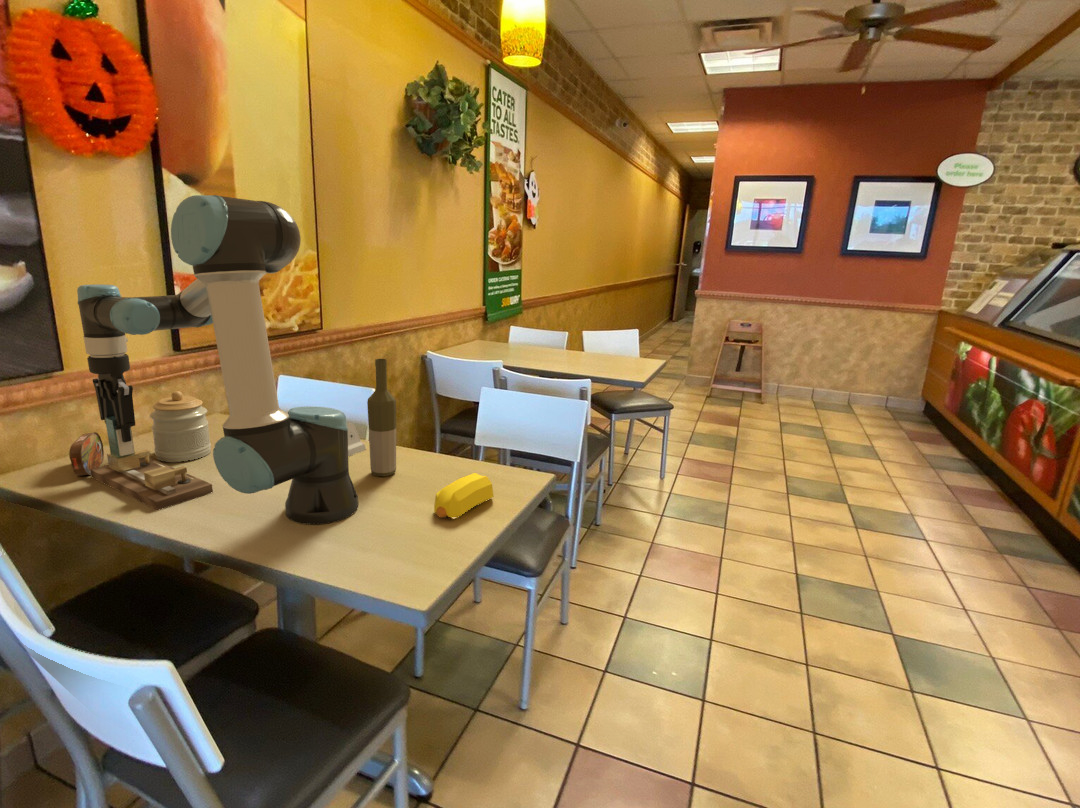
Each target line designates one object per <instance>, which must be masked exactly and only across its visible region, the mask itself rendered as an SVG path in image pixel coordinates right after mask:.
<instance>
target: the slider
mask: <svg viewBox="0 0 1080 808" xmlns="http://www.w3.org/2000/svg"><path fill="white" fill-rule="evenodd" d="M105 421H106V424H105V427H106V432H107V439H108V446H109V452H110V453H106V454H107V455H106V457H107V464H109V467H110V468H112V469H114V470H117V471H119V472H121V471H125V470H128V469H132V468H136V467H140V462H139V458H142V457H145V463H146V464H150V459H149V458H150V456H151V451H150V450H148V449H144V450H140V451H134V453H132V454H128V455H124V456H120V454H119V447H118V441H117V434H116V430H115V429H114V428H115V427H118V426H117V422H116V418H115V416H112V417H107V418H105V420H104V422H105ZM130 428H131V429H132V427H130ZM131 435H132V436H133V433H132V430H131ZM132 442H133V443H134V441H133V437H132ZM133 448H134V449H135V446H134V444H133Z"/></svg>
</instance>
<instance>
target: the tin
mask: <svg viewBox="0 0 1080 808" xmlns="http://www.w3.org/2000/svg"><path fill="white" fill-rule="evenodd" d="M68 453H69V460H70V463H71V468H72V472H73V473H74V475H76V476H77V477H81V476H83V477H84V476H91V470H90V469H94V468H98V467H101V465H102V463H103V462H104V457H105V456H104V455H105V451H104V445H103V440H102V438H101V436H100V434H99V432H98V431H97V432H96V431H94V432H93V431H92V432H89V433H88V432H87V433H83V434H81V435H80V436H79V437H78V438H77V439H76V440H74V442H73V443H72V444H71V445H70V448H69V452H68ZM100 464H101V465H100Z"/></svg>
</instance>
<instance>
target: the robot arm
mask: <svg viewBox="0 0 1080 808" xmlns="http://www.w3.org/2000/svg"><path fill="white" fill-rule="evenodd" d="M301 238H302V237H301V232H300V228H299V226H298V224H297V222H296V221H295V219H294V218H293V216H292V215H291V214H290V213H289V212H288V211H287V210H286V209H284V208H283V207H281V206H280V205H277V204H276V203H272V202H269V201H264V200H253V199H252V200H250V199H244V198H238V197H229V196H223V195H217V194H215V195H214V194H213V195H211V194H210V195H209V194H208V195H202V194H201V195H200V194H199V195H198V194H197V195H196V194H195V195H191V196H188V197H186V198H185V199H183V200H182V201H181V202H180V203H179V204H178V205H177V207H176V210H175V212H174V213H173V216H172V219H171V226H170V239H171V243H172V248H173V250H174V252H175V253H176V254H177V257H178V259H180V261H182V262H183V263H185V264H187V265H189V266H192V270H193V275H194V277H195V278H196V279H195V280H194V281H192V282H191V283H190V284H189V285H188V286H187V287H185V288H184V289H183V290H182V291H180V292H179V293H177V294H174V295H172V294H171V295H157V296H156V295H155V296H153V295H150V296H134V297H133V296H130V297H128V296H127V297H126V296H125V297H124V296H122V295H121V293H120V290H119V288H118V286H117V285H114V284H102V283H101V284H99V283H98V284H96V283H95V284H81V285H79V286H78V287H77V289H76V292H77V305H78V309H79V310H78V311H79V315H80V321H81V327H82V332H83V342H84V349H85V353H86V354H87V355H88V356H87V365H88V371H89V372H90V373H91V374H95V375H97V378H93V379H92V384H93V387H94V390H95V394H96V396H95V397H96V400H97V401H96V402H97V406H98V411H99V416H100V420H101V421H104V424H105V425H106V421H105V418H107V417H112V416H115V418H116V422H117V426H118V427H115V428H114V429H115V430H116V434H117V441H118V447H119V454H120V456H124V455H128V454H132V453H134V452H135V447H134V448H133V445H134V441H133V442H132V438H133V434H132V435H131V431H132V427H136V418H135V409H134V408H135V406H134V400H133V392H134V389H133V387H134V386H133V385H127V381H126V379H125V376H124V373H126V372H128V371H130V369H131V364H130V356H129V355H128V354H127V352H128V345H127V343H128V342H129V341H128V340H129V339H128V338H127V337H126V334H128V335H132V336H133V335H134V336H135V335H140V336H144V335H148V334H151V333H153V332H155V331H167V330H176V329H186V328H187V329H188V328H202V327H203V326H210V325H212V324H213V325H212V326H213V330H214V335H215V336H214V337H215V342H216V347H217V352H218V358H219V363H220V368H221V375H222V380H223V384H224V391H225V395H226V396H225V397H226V402H227V405H228V411H229V415H228V417H227V419H226V420H225V421H224V422H223V424H222V429H223V430H222V431H223V437H220V438H219V439H218V440H217V441H216V442H215V443H214V448H213V450H212V454H213V455H212V456H213V461H214V464H215V467H216V470H217V471H218V473H219V475H220V477H221V478H222V480H223V481H224V482H225V483H227V484H228V485H229V487H231V488H232V489H233V490H235V491H237V492H238V493H242V494H247V495H248V494H255V493H258V492H261V491H266V490H269V489H272V488H273V487H276V486H278V485H281V484H283V483H285V482H288V481H290V480H291V481H290V482H291V483H290V486H289V490H288V494H287V498H286V500H285V503H284V504H285V505H284V507H285V516H286V517H287V518H288V519H289V520H290V521H292V522H295V523H298V524H304V525H325V524H330V523H334V521H335V522H339V521H341V519H342V520H344V519H346V517H347V518H349V517H351V516H352V515H353V514H355V513H356V512H357V510H358V509H359V497H358V493H357V491H356V488H355V485H354V483H353V481H352V479H351V476H350V472H349V468H350V467H349V457H348V428H347V423H348V422H347V417H346V415H345V413H344V412H343V411H342V410H339V409H335V408H332V407H324V406H298V407H292V408H290V409H289V410H288V412H286V411H284V410H283V409H282V408H281V407H280V404H279V399H278V392H277V386H276V385H277V384H276V380H275V374H274V368H273V361H272V355H271V349H270V344H269V339H268V332H267V325H266V320H265V319H266V318H265V314H264V309H263V302H262V297H261V291H260V280H261V279H262V278H263V277H264V276H265V275H267V274H276V273H278V272H280V271H281V270H282V269H284V268H285V267H287V266H288V265H289V264H290V263H291V262H292V261H294V259H295V258H296V256H297V255H298V253H299V251H300V246H301V240H302V239H301ZM130 427H131V428H130ZM357 508H358V509H357ZM355 511H356V512H355ZM354 512H355V513H354ZM352 513H353V514H352ZM351 514H352V515H351ZM348 516H349V517H348ZM343 518H344V519H343ZM338 520H339V521H338Z"/></svg>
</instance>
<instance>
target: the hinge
mask: <svg viewBox="0 0 1080 808" xmlns="http://www.w3.org/2000/svg"><path fill="white" fill-rule="evenodd" d="M346 423H347V428H348V456H349V457H351V456H354V455H356V454H355V453H357V454H359V453H362V452H364V450H365V451H367V448H366V444H365V443H364V442H362V441H361V437H360V436H359V433H358V431H357V429H356V426H355V424H354V423H352V422H346ZM361 451H362V452H361ZM358 452H359V453H358ZM353 454H354V455H353ZM350 455H351V456H350Z"/></svg>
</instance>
